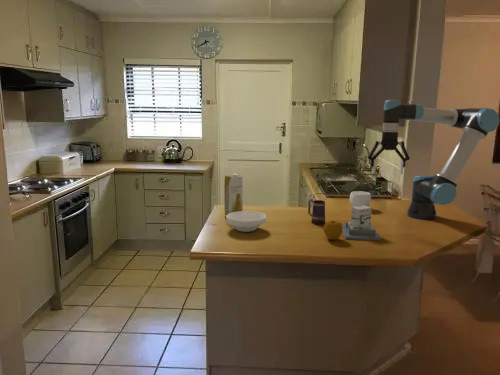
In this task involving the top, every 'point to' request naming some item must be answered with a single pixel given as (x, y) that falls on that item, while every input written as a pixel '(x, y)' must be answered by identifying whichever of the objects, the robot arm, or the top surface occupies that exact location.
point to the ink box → (361, 217)
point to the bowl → (246, 220)
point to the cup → (360, 198)
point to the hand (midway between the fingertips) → (387, 173)
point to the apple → (333, 229)
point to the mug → (317, 211)
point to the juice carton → (233, 193)
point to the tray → (360, 233)
